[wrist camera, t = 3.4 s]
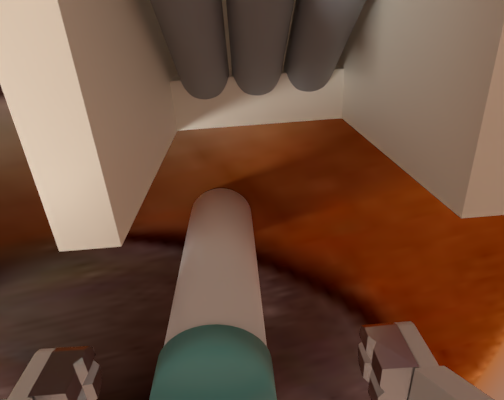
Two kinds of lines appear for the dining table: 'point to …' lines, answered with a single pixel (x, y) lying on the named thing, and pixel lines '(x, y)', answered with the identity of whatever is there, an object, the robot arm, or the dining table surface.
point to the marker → (216, 310)
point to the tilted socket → (247, 91)
